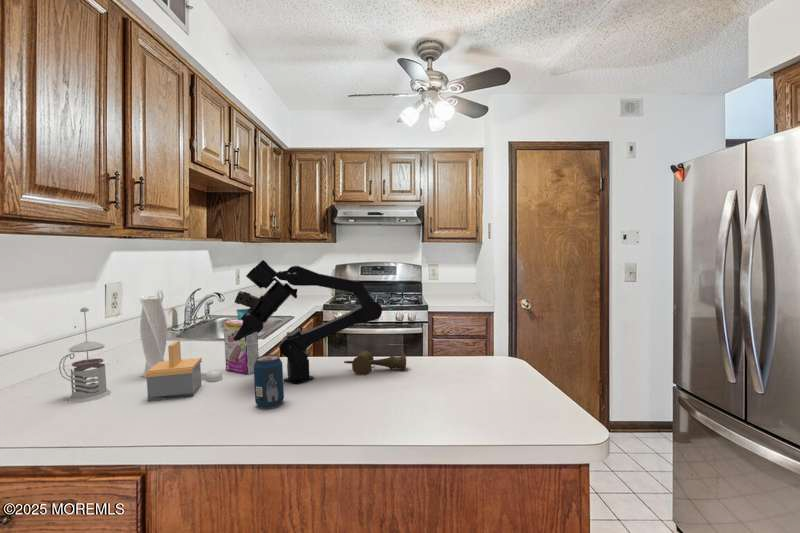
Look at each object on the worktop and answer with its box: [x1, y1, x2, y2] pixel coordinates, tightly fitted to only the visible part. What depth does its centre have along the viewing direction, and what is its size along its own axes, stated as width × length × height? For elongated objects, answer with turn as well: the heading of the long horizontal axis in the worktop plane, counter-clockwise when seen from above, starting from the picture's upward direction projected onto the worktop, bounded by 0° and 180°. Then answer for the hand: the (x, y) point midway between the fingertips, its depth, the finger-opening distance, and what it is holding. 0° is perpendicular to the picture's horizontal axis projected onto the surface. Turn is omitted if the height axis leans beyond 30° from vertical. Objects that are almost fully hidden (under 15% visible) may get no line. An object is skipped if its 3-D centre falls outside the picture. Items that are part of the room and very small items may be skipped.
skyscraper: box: [139, 290, 168, 379], centre depth 133 cm, size 8×8×28 cm
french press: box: [58, 306, 112, 403], centre depth 115 cm, size 10×12×25 cm
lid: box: [146, 340, 203, 377], centre depth 115 cm, size 11×12×7 cm
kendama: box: [343, 350, 407, 376], centre depth 131 cm, size 6×10×20 cm
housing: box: [146, 362, 202, 402], centre depth 116 cm, size 11×10×7 cm
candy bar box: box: [223, 319, 260, 375], centre depth 135 cm, size 11×5×16 cm, turn 59°
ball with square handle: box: [201, 369, 223, 383], centre depth 127 cm, size 7×4×2 cm, turn 72°
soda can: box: [253, 354, 285, 410], centre depth 104 cm, size 7×7×12 cm
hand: (234, 339), depth 119 cm, fingers closed
